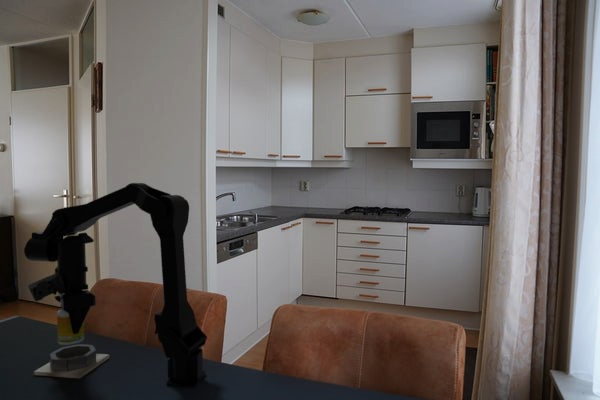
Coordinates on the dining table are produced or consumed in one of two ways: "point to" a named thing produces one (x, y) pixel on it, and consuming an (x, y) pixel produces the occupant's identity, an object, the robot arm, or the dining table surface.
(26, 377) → the dining table surface
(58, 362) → the collar
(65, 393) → the dining table surface
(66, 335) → the supplement bottle
